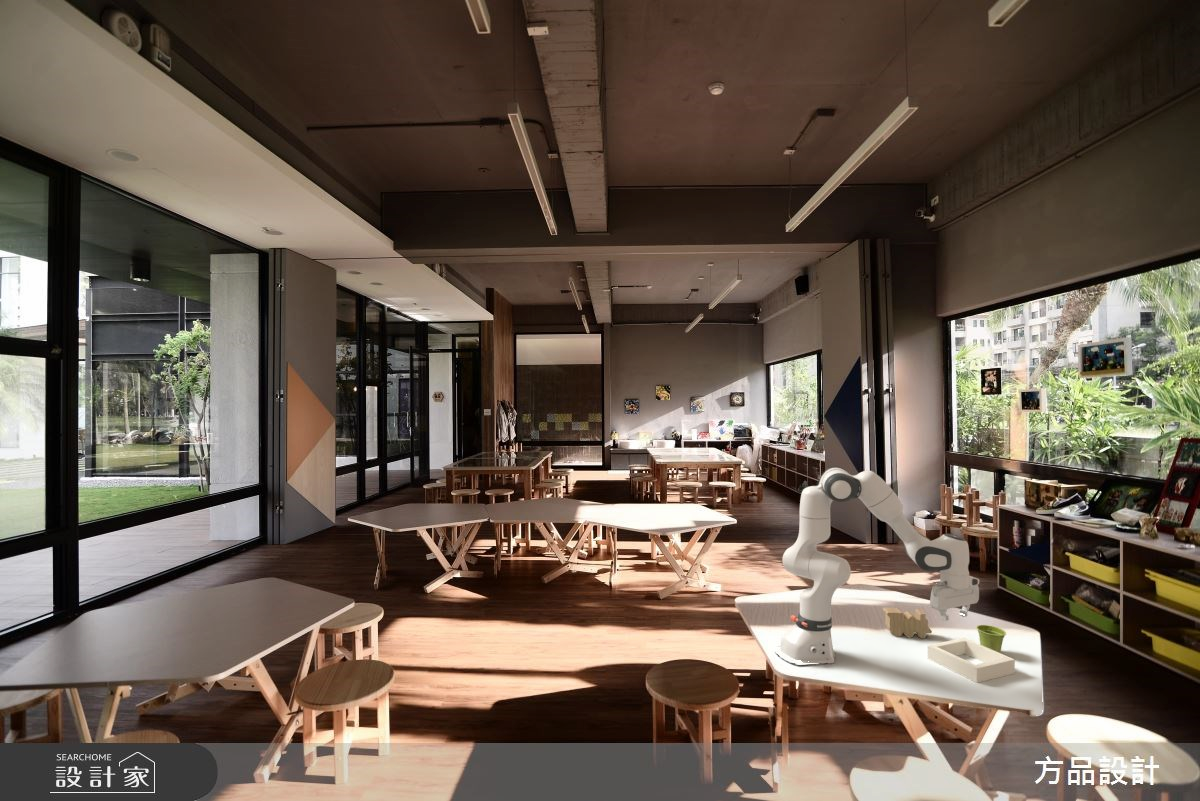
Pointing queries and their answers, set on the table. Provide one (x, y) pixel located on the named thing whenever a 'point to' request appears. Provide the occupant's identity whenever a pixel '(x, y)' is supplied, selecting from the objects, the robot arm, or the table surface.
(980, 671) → the cream open tray
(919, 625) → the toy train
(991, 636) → the plant pot
